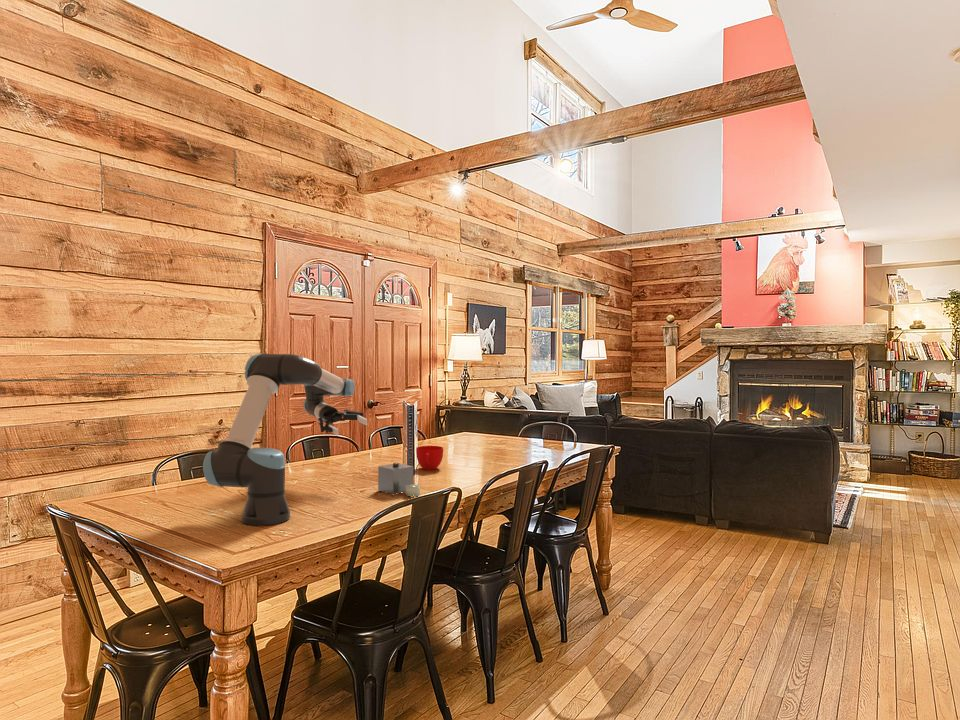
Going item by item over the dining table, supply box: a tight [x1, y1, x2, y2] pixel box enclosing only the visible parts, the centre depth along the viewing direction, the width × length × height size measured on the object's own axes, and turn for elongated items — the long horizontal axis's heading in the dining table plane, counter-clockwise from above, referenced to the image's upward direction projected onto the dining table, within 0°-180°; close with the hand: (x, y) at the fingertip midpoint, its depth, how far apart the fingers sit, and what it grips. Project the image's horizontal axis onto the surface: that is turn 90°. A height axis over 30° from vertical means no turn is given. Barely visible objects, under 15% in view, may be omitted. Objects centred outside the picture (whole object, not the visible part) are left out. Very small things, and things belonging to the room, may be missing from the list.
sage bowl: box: [405, 484, 421, 497], centre depth 236 cm, size 6×6×4 cm
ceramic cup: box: [415, 445, 444, 471], centre depth 288 cm, size 13×17×10 cm
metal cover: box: [377, 462, 414, 494], centre depth 244 cm, size 10×10×11 cm
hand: (352, 427), depth 249 cm, fingers open, 13 cm apart
